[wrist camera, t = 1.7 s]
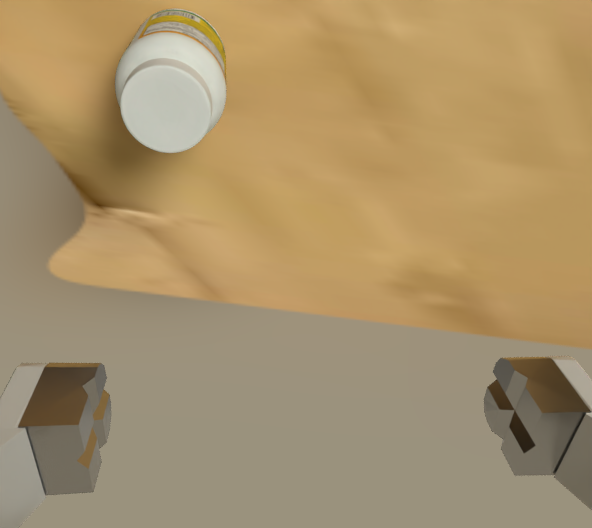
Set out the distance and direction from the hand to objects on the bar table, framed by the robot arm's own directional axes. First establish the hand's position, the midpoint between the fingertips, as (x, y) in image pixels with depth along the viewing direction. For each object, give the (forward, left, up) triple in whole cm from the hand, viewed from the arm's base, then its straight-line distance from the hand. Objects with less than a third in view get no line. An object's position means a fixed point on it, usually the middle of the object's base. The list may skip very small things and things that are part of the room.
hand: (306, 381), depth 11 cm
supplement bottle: (0, -4, -26) cm, 26 cm away
